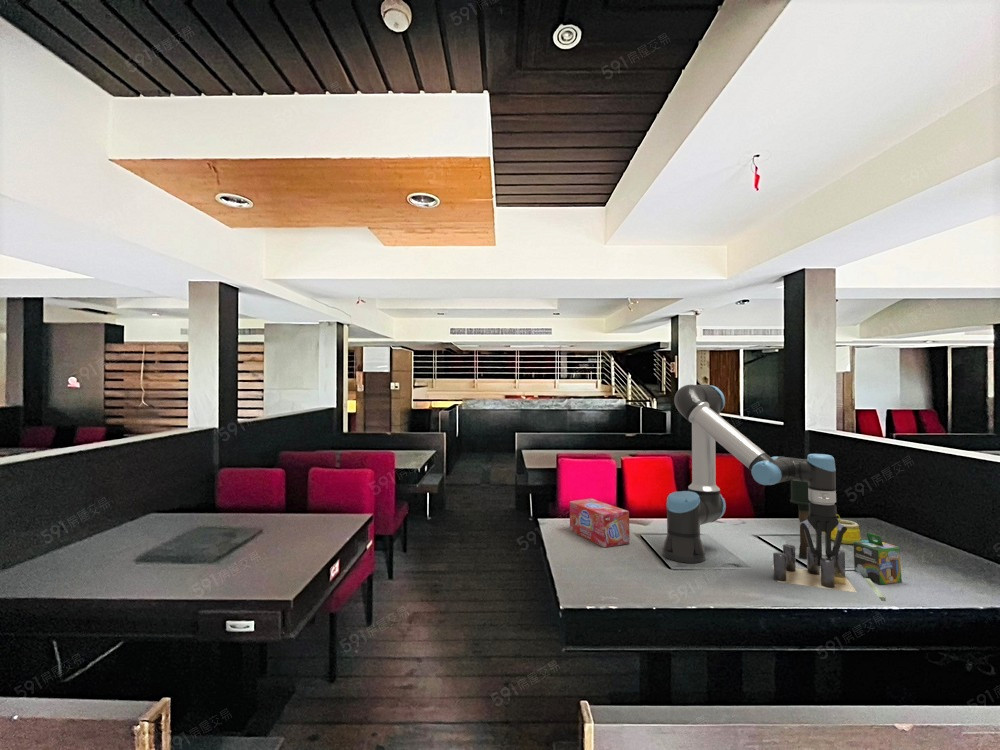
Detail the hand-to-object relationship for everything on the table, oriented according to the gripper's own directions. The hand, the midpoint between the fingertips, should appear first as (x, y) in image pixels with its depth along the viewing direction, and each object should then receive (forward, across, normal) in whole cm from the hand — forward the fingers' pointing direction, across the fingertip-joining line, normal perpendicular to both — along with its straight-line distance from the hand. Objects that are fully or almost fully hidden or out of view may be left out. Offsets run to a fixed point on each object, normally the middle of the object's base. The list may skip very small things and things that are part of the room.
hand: (824, 576), depth 158 cm
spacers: (+1, -4, 0) cm, 4 cm away
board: (+3, 0, 0) cm, 3 cm away
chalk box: (+3, +17, +12) cm, 21 cm away
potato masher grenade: (+3, -2, +23) cm, 23 cm away
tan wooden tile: (+1, +3, 0) cm, 3 cm away
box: (+3, -78, +21) cm, 81 cm away
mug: (+3, +16, +56) cm, 58 cm away
